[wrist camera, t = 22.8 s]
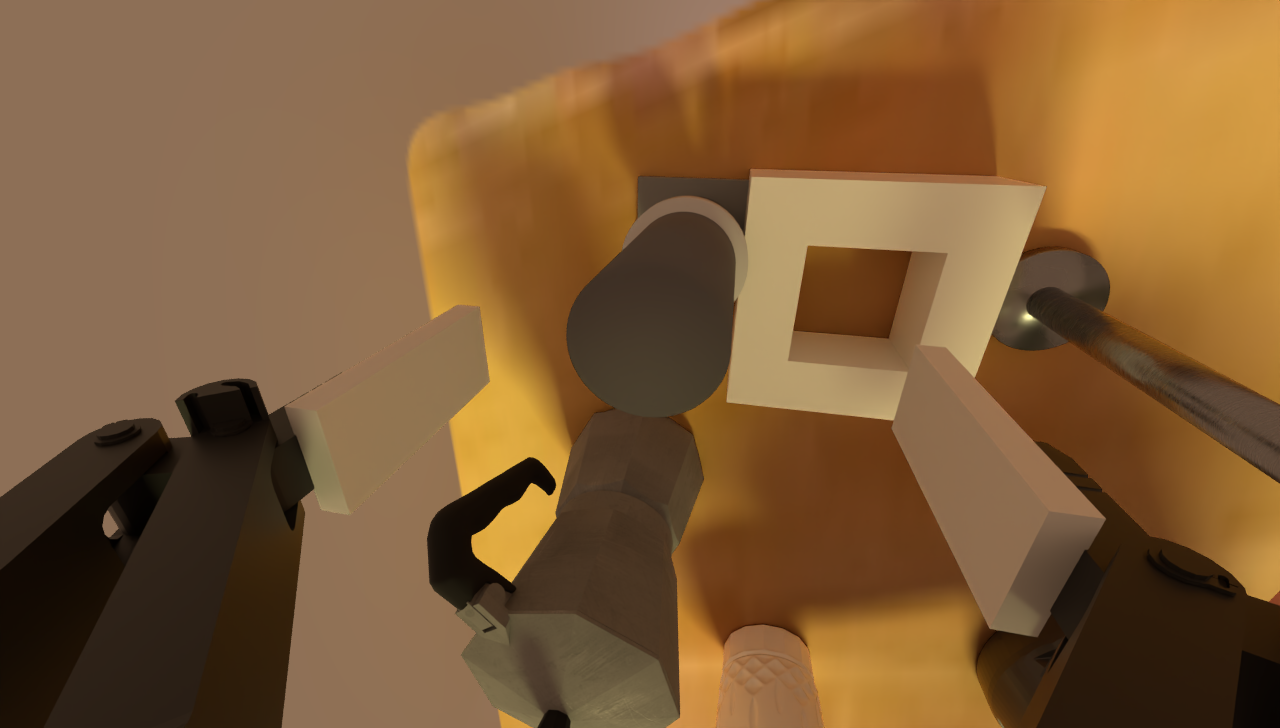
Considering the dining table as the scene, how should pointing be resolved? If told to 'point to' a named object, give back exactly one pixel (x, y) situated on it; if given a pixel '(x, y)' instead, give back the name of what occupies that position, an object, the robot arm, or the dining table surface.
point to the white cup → (767, 681)
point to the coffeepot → (580, 580)
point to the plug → (662, 310)
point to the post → (1132, 352)
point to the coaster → (695, 192)
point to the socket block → (931, 294)
